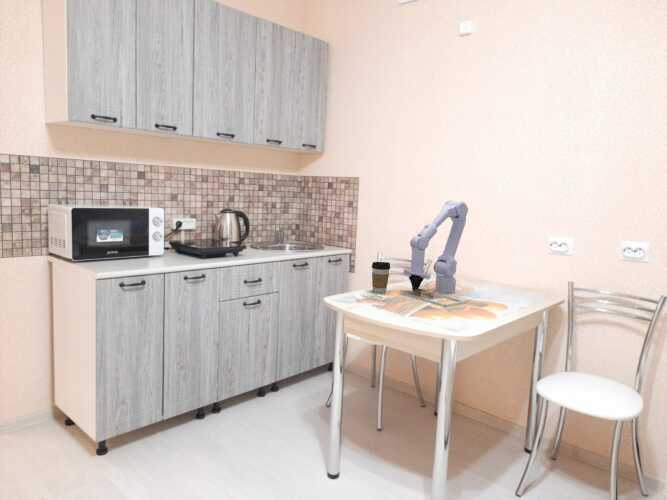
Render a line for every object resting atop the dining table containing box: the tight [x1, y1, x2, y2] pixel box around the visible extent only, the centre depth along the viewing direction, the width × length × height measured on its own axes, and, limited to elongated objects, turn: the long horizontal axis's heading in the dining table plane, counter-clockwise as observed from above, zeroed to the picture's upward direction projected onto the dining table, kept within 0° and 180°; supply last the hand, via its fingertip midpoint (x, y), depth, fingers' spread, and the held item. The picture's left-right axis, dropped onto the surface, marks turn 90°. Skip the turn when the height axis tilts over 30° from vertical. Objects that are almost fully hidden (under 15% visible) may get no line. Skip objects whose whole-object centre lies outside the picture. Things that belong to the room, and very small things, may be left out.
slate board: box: [397, 291, 444, 302], centre depth 227 cm, size 14×15×1 cm
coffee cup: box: [371, 261, 391, 295], centre depth 229 cm, size 8×8×15 cm
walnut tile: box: [414, 288, 426, 297], centre depth 227 cm, size 4×4×2 cm
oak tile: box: [421, 289, 435, 299], centre depth 224 cm, size 4×4×2 cm
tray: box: [422, 294, 467, 308], centre depth 217 cm, size 14×12×2 cm
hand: (415, 291), depth 230 cm, fingers closed
